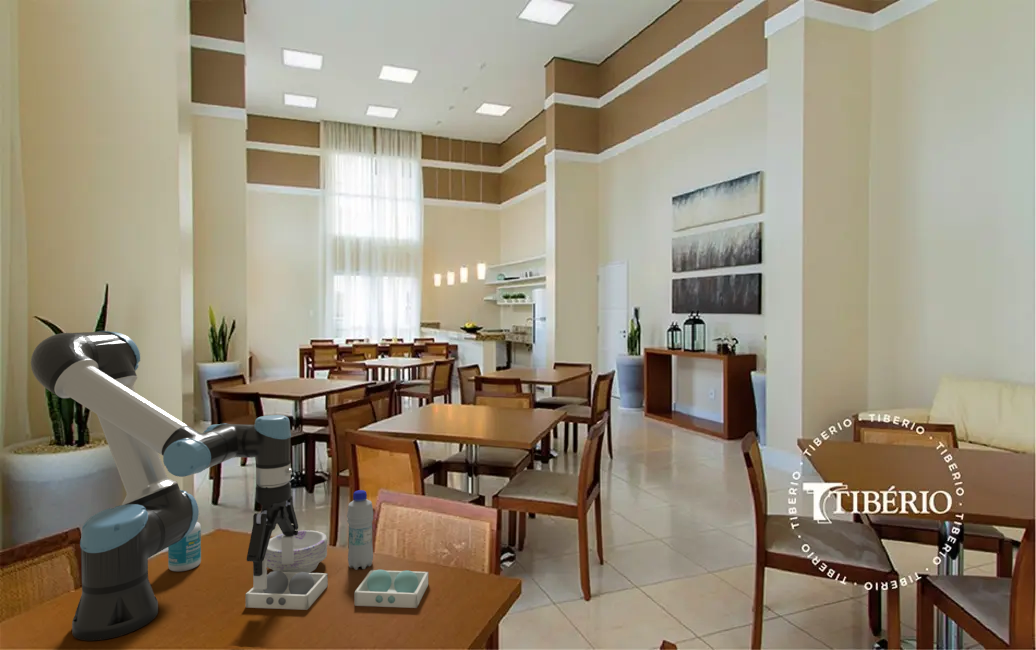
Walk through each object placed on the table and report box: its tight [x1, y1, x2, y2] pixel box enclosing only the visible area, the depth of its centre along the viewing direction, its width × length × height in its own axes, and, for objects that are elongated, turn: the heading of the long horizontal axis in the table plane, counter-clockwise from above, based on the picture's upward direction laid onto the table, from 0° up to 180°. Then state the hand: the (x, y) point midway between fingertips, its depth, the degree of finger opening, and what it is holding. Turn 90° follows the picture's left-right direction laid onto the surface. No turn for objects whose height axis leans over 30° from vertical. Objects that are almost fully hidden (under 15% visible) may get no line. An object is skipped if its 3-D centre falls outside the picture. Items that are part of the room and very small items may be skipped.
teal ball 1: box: [367, 568, 391, 592], centre depth 135 cm, size 6×6×6 cm
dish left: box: [245, 571, 329, 611], centre depth 134 cm, size 14×12×4 cm
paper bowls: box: [264, 529, 328, 573], centre depth 149 cm, size 15×15×8 cm
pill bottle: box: [167, 521, 202, 572], centre depth 151 cm, size 8×7×14 cm
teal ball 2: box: [394, 569, 418, 593], centre depth 135 cm, size 6×6×6 cm
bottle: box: [346, 489, 375, 571], centre depth 151 cm, size 7×7×20 cm
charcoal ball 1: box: [263, 571, 288, 594], centre depth 135 cm, size 6×6×6 cm
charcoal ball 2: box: [289, 572, 314, 595], centre depth 134 cm, size 6×6×6 cm
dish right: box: [353, 569, 429, 609], centre depth 135 cm, size 14×11×4 cm
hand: (274, 575), depth 135 cm, fingers open, 12 cm apart
